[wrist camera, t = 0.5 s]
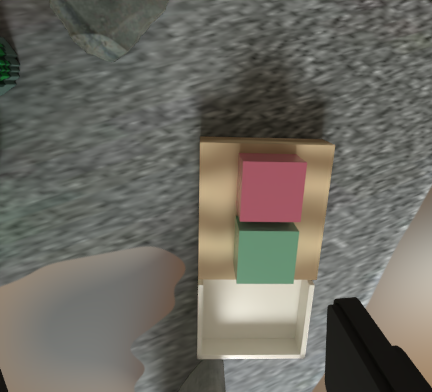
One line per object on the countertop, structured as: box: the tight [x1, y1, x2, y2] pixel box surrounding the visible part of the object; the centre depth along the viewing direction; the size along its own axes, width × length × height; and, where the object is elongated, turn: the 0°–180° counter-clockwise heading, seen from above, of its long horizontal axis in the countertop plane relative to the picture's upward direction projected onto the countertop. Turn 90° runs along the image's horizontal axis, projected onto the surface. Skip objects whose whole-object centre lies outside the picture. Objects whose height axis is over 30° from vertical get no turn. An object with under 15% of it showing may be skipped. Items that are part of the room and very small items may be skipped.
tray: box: [197, 279, 315, 359], centre depth 44 cm, size 11×14×4 cm
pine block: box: [198, 137, 335, 280], centre depth 40 cm, size 16×14×4 cm
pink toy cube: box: [236, 153, 307, 222], centre depth 35 cm, size 6×6×4 cm
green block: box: [233, 216, 299, 284], centre depth 37 cm, size 6×6×4 cm
